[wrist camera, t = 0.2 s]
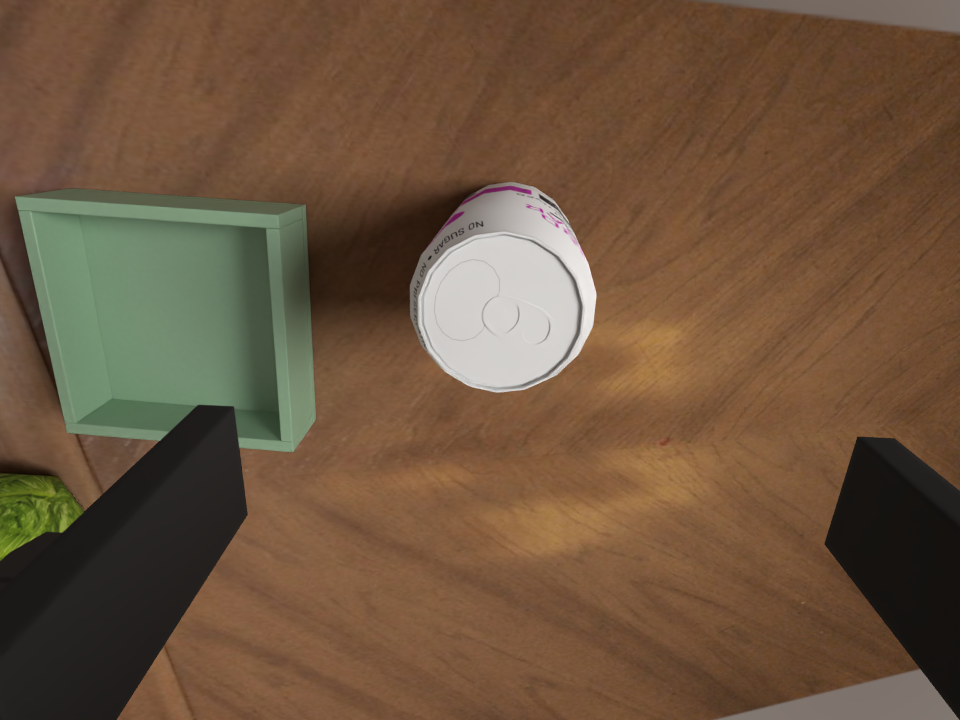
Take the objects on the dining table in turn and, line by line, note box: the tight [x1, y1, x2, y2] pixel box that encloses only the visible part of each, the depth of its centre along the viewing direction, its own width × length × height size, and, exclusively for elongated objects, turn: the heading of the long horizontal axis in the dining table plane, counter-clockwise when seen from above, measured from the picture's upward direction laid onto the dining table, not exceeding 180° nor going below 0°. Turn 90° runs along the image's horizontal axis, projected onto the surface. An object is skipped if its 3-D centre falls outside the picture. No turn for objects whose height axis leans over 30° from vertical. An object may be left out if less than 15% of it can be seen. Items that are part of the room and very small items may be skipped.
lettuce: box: [0, 473, 85, 561], centre depth 47 cm, size 14×24×14 cm
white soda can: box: [410, 182, 596, 392], centre depth 32 cm, size 8×8×15 cm
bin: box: [15, 188, 316, 452], centre depth 40 cm, size 16×16×5 cm
